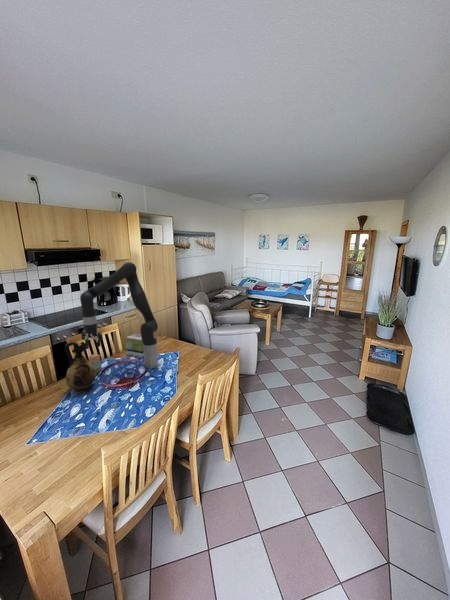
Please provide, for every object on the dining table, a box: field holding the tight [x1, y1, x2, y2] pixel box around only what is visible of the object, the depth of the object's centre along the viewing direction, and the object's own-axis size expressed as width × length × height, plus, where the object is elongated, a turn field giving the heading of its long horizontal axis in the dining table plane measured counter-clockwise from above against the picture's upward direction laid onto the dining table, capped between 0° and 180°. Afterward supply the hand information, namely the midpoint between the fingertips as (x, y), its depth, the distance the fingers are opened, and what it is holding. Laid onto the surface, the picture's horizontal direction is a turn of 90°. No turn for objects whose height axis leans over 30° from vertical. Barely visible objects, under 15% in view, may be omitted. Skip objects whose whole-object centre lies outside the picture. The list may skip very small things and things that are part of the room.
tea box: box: [125, 333, 144, 358], centre depth 192 cm, size 15×10×15 cm
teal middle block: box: [91, 360, 102, 369], centre depth 163 cm, size 5×5×4 cm
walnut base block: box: [95, 366, 102, 375], centre depth 164 cm, size 6×6×4 cm
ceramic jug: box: [64, 341, 97, 394], centre depth 143 cm, size 17×15×30 cm
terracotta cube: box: [88, 353, 101, 364], centre depth 162 cm, size 4×4×4 cm
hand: (93, 346), depth 160 cm, fingers open, 8 cm apart
